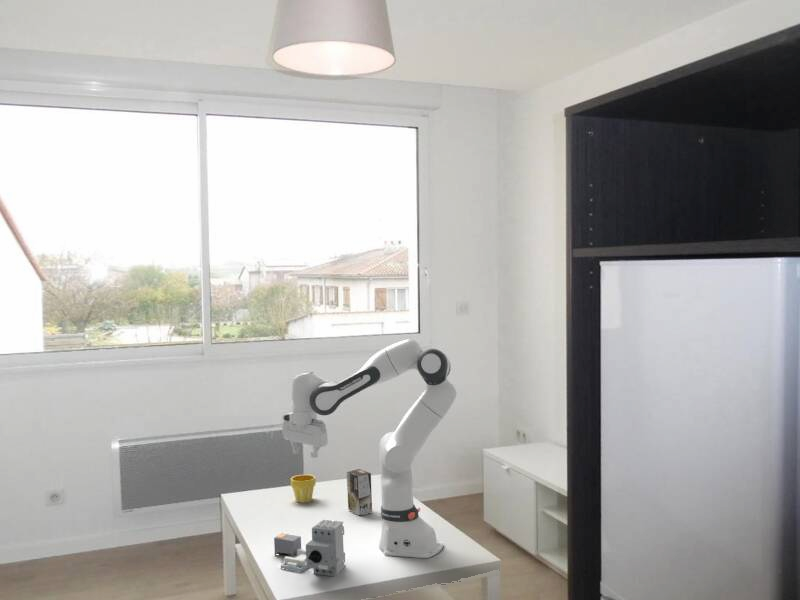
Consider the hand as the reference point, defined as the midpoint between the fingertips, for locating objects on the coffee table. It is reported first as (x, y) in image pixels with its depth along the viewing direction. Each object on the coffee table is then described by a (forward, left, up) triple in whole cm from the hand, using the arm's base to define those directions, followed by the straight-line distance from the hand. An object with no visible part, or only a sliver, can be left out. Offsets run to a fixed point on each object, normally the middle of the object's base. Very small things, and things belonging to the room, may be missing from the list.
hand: (305, 455), depth 265 cm
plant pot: (+28, -38, -32) cm, 56 cm away
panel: (-10, +17, -31) cm, 37 cm away
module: (-1, +13, -31) cm, 34 cm away
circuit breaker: (-22, +22, -32) cm, 44 cm away
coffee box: (-2, -34, -32) cm, 46 cm away
